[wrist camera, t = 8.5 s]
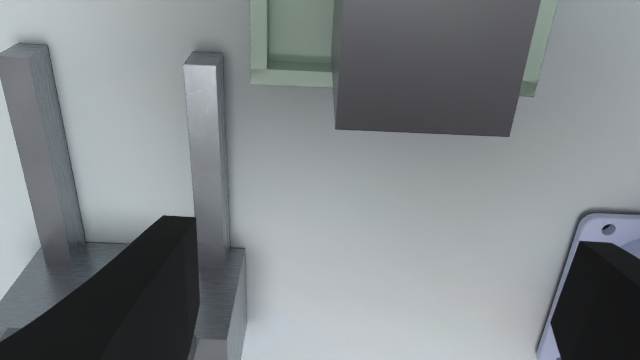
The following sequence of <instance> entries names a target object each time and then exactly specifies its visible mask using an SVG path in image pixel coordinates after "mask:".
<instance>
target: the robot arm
mask: <svg viewBox="0 0 640 360" xmlns="http://www.w3.org/2000/svg"><path fill="white" fill-rule="evenodd" d="M607 224H611V225H610V226H609V227H608V228H607V229H603V230H602V228H603V227H604V226H605V225H607ZM199 306H200V289H199V268H198V246H197V225H196V217H180V216H164V215H163V216H162V217H161V218H160V219H158V220H157V221H156V222H155V223H154V224H152V225H151V226H150V227H149V228H148V229H147V230H145V231H144V232H143V233H142V234H141V235H140V236H139V237H138V238H136V239H135V240H134V241H133V242H132V243H131V244H130V245H128V246H127V247H126V248H125V249H124V250H123V251H122V252H120V253H119V254H118V255H117V256H116V257H115V258H113V259H112V260H111V261H110V262H109V263H107V264H106V265H105V266H104V267H103V268H101V269H100V270H99V271H98V272H97V273H95V274H94V275H93V276H92V277H91V278H89V279H88V280H87V281H86V282H85V283H83V284H82V285H81V286H79V287H78V288H77V289H75V290H74V291H73V292H71V293H70V294H69V295H67V296H66V297H65V298H63V299H62V300H61V301H59V302H58V303H57V304H55V305H54V306H53V307H51V308H50V309H49V310H48V311H46V312H45V313H43V314H42V315H40V316H39V317H38V318H36V319H35V320H33V321H32V322H30V323H29V324H27V325H26V326H24V327H23V328H21V329H20V330H18V331H17V332H15V333H14V334H12V335H10V336H9V337H7V338H6V339H4V340H2V341H1V342H0V360H187V359H188V356H189V353H190V349H191V344H192V340H193V335H194V330H195V326H196V321H197V316H198V311H199ZM536 357H537V359H538V360H640V215H627V214H602V213H593V214H589V215H587V216H585V217H584V218H583V219H581V221H580V223H579V226H578V229H577V232H576V235H575V238H574V241H573V244H572V247H571V250H570V253H569V256H568V259H567V262H566V265H565V268H564V271H563V274H562V277H561V280H560V283H559V286H558V290H557V293H556V296H555V299H554V302H553V305H552V308H551V311H550V314H549V317H548V320H547V323H546V326H545V329H544V332H543V335H542V338H541V341H540V344H539V347H538V350H537V353H536ZM558 357H559V358H558Z"/></svg>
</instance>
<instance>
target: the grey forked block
mask: <svg viewBox="0 0 640 360" xmlns="http://www.w3.org/2000/svg"><path fill="white" fill-rule="evenodd" d="M183 66H184V79H185V92H186V105H187V119H188V132H189V145H190V159H191V172H192V185H193V198H194V212H195V217H196V225H197V246H198V268H199V289H200V306H199V311H198V316H197V321H196V326H195V330H194V335H193V340H192V344H191V349H190V353H189V356H188V359H187V360H241V356H242V349H243V343H244V337H245V331H246V325H247V305H246V262H245V249H241V248H230V227H229V202H228V177H227V152H226V126H225V101H224V76H223V53H207V52H192V53H191V55H190V56H189V57H188V59H187V60H186V62H185V63H184V64H183ZM0 78H1V82H2V87H3V91H4V95H5V99H6V103H7V107H8V111H9V115H10V119H11V124H12V128H13V132H14V136H15V140H16V144H17V148H18V152H19V156H20V161H21V165H22V169H23V173H24V177H25V181H26V185H27V189H28V193H29V198H30V202H31V206H32V210H33V214H34V218H35V222H36V226H37V231H38V235H39V239H40V243H41V248H40V249H39V250H38V252H37V253H36V254H35V256H34V257H33V258H32V260H31V261H30V262H29V264H28V265H27V266H26V268H25V269H24V270H23V272H22V273H21V274H20V276H19V277H18V278H17V280H16V281H15V282H14V284H13V285H12V286H11V288H10V289H9V290H8V292H7V293H6V294H5V296H4V297H3V298H2V300H1V301H0V342H1V341H2V340H4V339H6V338H7V337H9V336H10V335H12V334H14V333H15V332H17V331H18V330H20V329H21V328H23V327H24V326H26V325H27V324H29V323H30V322H32V321H33V320H35V319H36V318H38V317H39V316H40V315H42V314H43V313H45V312H46V311H48V310H49V309H50V308H51V307H53V306H54V305H55V304H57V303H58V302H59V301H61V300H62V299H63V298H65V297H66V296H67V295H69V294H70V293H71V292H73V291H74V290H75V289H77V288H78V287H79V286H81V285H82V284H83V283H85V282H86V281H87V280H88V279H89V278H91V277H92V276H93V275H94V274H95V273H97V272H98V271H99V270H100V269H101V268H103V267H104V266H105V265H106V264H107V263H109V262H110V261H111V260H112V259H113V258H115V257H116V256H117V255H118V254H119V253H120V252H122V251H123V250H124V249H125V248H126V247H127V246H128V245H130V244H112V243H87V242H86V241H85V236H84V231H83V226H82V221H81V216H80V211H79V205H78V200H77V195H76V190H75V185H74V180H73V175H72V169H71V164H70V159H69V154H68V149H67V144H66V139H65V133H64V128H63V123H62V118H61V113H60V108H59V103H58V97H57V92H56V87H55V82H54V77H53V72H52V67H51V61H50V56H49V51H48V46H47V45H34V44H15V45H14V46H12V47H10V48H8V49H7V50H5V51H3V52H1V53H0Z"/></svg>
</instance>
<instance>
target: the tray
mask: <svg viewBox="0 0 640 360" xmlns="http://www.w3.org/2000/svg"><path fill="white" fill-rule="evenodd" d="M557 1H558V0H541V3H540V7H539V11H538V15H537V20H536V24H535V28H534V33H533V37H532V41H531V45H530V50H529V54H528V58H527V63H526V67H525V71H524V75H523V80H522V84H521V88H520V93H519V96H527V97H534V94H535V90H536V86H537V82H538V78H539V74H540V70H541V66H542V62H543V58H544V54H545V50H546V46H547V42H548V38H549V34H550V30H551V25H552V21H553V17H554V13H555V9H556V5H557ZM333 12H334V0H250V62H251V84H261V85H283V86H305V87H327V88H333V79H332V61H331V47H332V30H333Z"/></svg>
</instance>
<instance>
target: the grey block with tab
mask: <svg viewBox="0 0 640 360" xmlns="http://www.w3.org/2000/svg"><path fill="white" fill-rule="evenodd" d="M540 3H541V0H334V12H333V30H332V47H331V61H332V79H333V97H334V115H335V129H339V130H362V131H385V132H408V133H431V134H454V135H477V136H500V137H509V135H510V131H511V127H512V123H513V118H514V114H515V110H516V105H517V101H518V97H519V93H520V88H521V84H522V80H523V75H524V71H525V67H526V63H527V58H528V54H529V50H530V45H531V41H532V37H533V33H534V28H535V24H536V20H537V15H538V11H539V7H540Z"/></svg>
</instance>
